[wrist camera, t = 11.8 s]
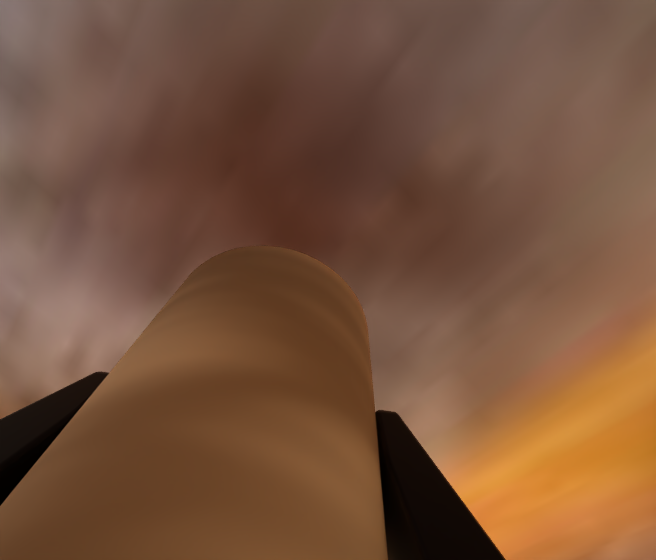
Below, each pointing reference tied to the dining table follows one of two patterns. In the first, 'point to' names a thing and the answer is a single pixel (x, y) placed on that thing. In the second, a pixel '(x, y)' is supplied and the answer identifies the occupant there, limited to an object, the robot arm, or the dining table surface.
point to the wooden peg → (220, 431)
